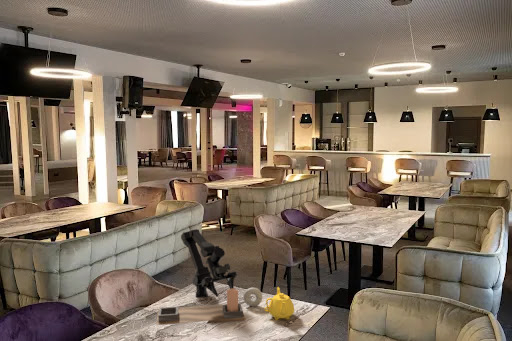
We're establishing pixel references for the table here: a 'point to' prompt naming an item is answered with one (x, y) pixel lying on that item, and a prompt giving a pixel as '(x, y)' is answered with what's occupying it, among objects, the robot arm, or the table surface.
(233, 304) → the block
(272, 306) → the teapot
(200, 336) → the table surface
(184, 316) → the puzzle board
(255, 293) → the donut
